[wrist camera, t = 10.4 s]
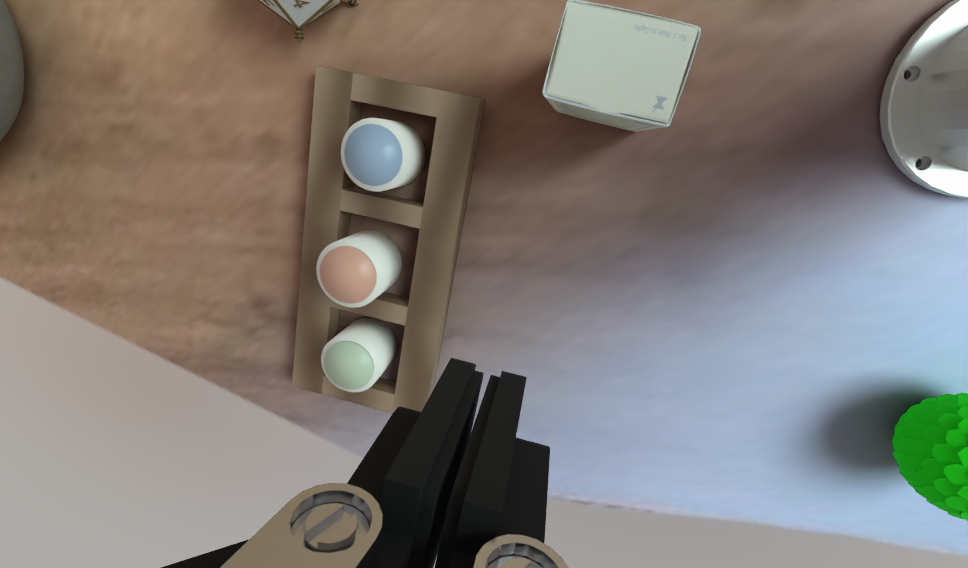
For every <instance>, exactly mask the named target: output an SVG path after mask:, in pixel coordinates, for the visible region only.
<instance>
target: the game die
mask: <svg viewBox="0 0 968 568" xmlns="http://www.w3.org/2000/svg"><path fill="white" fill-rule="evenodd" d="M258 1H260V2H261V3H262V4H264V5H265V6H266V7H268V8H269V9H270V10H272V11H273V12H274V13H276V14H277V15H278V16H280V17H281V18H282V19H284V20H285V21H286V22H288V23H289V24H291V25H292V26H293V27H295V28H296V33H295V34H296V37H295V38H296V39H297V41H298V42H299V44H300V43H301V41H302V39H303V38H304V37H303V33H302V31H301V29H302V28H304V27H305V26H307V25H308V24H310V23H311V22H313V21H314V20H316V19H317V18H319V17H320V16H322V15H323V14H325V13H326V12H328V11H329V10H331V9H333V8H334V7H336V6H337V5H339V4H340V3H345V2H348V3H350V5H358V4H357V2H356V0H258Z"/></svg>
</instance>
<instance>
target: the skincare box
mask: <svg viewBox="0 0 968 568" xmlns="http://www.w3.org/2000/svg"><path fill="white" fill-rule="evenodd" d="M700 35H701V28H700V27H698V26H695V25H691V24H688V23H684V22H680V21H677V20H673V19H668V18H664V17H660V16H655V15H651V14H647V13H642V12H637V11H632V10H627V9H623V8H618V7H613V6H608V5H603V4H597V3H592V2H587V1H581V0H568V1H567V3H566V7H565V10H564V14H563V17H562V21H561V24H560V28H559V31H558V34H557V38H556V41H555V45H554V49H553V52H552V56H551V59H550V63H549V67H548V71H547V75H546V79H545V83H544V87H543V91H542V93H543V96H544V97H545V98H546V99H547V101H548V102H549V103H550V104H551V105H552V107H553V108H554V109H555V110H556V111H557V112H559V113H563V114H566V115H570V116H574V117H577V118H581V119H585V120H588V121H592V122H596V123H600V124H604V125H608V126H612V127H616V128H621V129H625V130H630V131H634V132H640V131H646V130H652V129H658V128H664V127H668V126H670V123H671V120H672V118H673V115H674V112H675V110H676V107H677V104H678V101H679V99H680V96H681V93H682V91H683V87H684V84H685V81H686V79H687V76H688V73H689V70H690V67H691V64H692V61H693V58H694V54H695V51H696V48H697V45H698V41H699V38H700Z"/></svg>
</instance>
